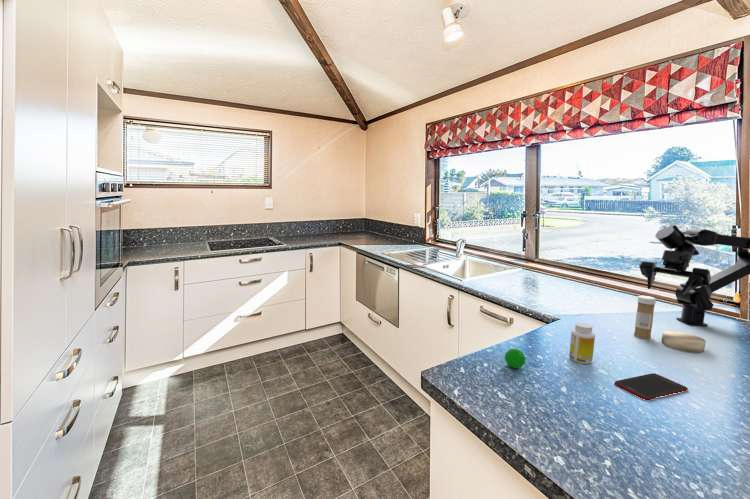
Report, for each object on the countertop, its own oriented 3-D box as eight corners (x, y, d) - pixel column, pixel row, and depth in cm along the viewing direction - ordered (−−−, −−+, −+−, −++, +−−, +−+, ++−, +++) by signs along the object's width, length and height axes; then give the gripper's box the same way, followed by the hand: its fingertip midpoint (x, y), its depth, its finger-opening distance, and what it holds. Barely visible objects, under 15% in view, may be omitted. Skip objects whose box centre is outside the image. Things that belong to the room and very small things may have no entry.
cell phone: (689, 392, 82) (689, 388, 81) (645, 402, 77) (646, 398, 77) (653, 376, 89) (654, 372, 89) (612, 385, 84) (612, 381, 84)
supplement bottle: (596, 362, 95) (600, 326, 94) (583, 366, 93) (587, 330, 91) (577, 354, 100) (580, 320, 99) (564, 357, 98) (567, 323, 96)
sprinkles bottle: (653, 337, 113) (658, 297, 111) (647, 340, 111) (652, 299, 109) (636, 332, 117) (641, 294, 115) (630, 335, 115) (635, 296, 113)
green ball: (511, 372, 89) (512, 354, 88) (500, 363, 94) (501, 346, 93) (528, 370, 90) (530, 353, 89) (517, 362, 95) (518, 345, 94)
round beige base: (654, 338, 112) (655, 329, 112) (689, 341, 111) (690, 332, 110) (674, 351, 103) (675, 341, 102) (713, 354, 101) (714, 344, 100)
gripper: (644, 239, 127) (628, 271, 122) (713, 245, 111) (697, 282, 107) (650, 258, 132) (634, 290, 128) (717, 266, 117) (701, 303, 112)
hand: (664, 291), depth 119 cm, fingers open, 9 cm apart
